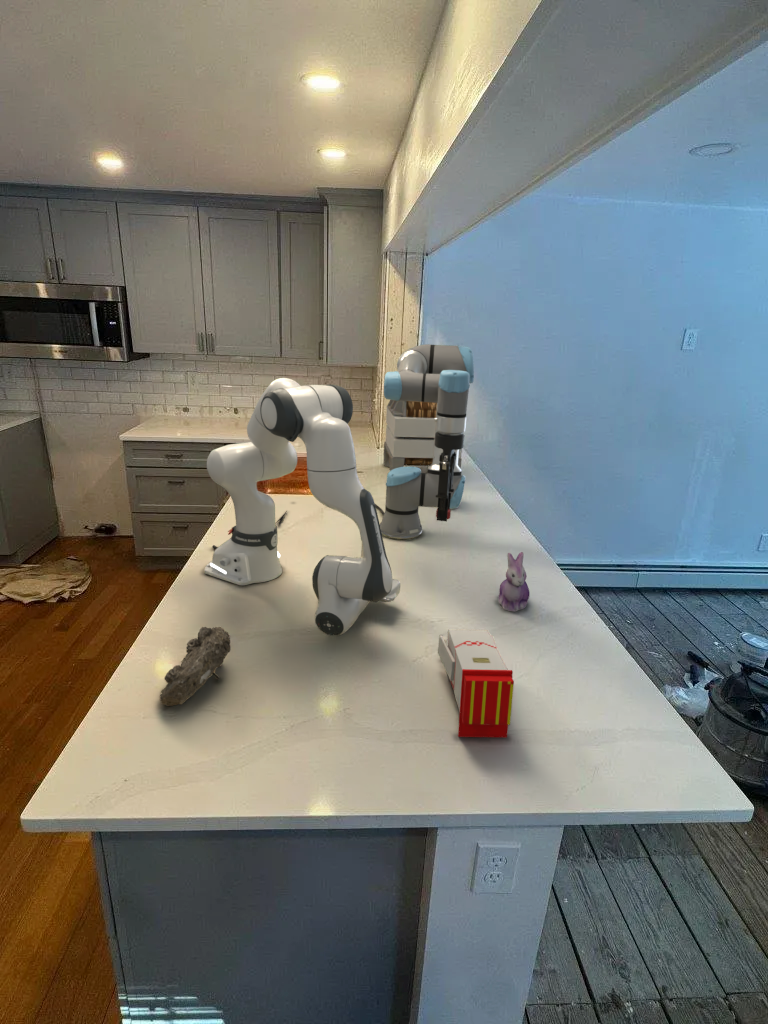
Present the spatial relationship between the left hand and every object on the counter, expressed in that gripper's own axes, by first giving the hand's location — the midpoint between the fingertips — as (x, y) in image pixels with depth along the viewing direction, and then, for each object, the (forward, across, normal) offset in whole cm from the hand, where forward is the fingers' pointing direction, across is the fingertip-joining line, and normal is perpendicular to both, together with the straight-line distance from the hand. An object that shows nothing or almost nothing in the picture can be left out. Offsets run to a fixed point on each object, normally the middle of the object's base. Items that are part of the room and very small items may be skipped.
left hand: (370, 572), depth 156 cm
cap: (+8, -17, -18) cm, 26 cm away
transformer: (+124, +17, +6) cm, 126 cm away
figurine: (+8, -39, +6) cm, 40 cm away
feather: (+46, +50, +6) cm, 68 cm away
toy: (-34, -34, +6) cm, 48 cm away
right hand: (+8, -17, -16) cm, 25 cm away
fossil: (-50, +20, +6) cm, 54 cm away
